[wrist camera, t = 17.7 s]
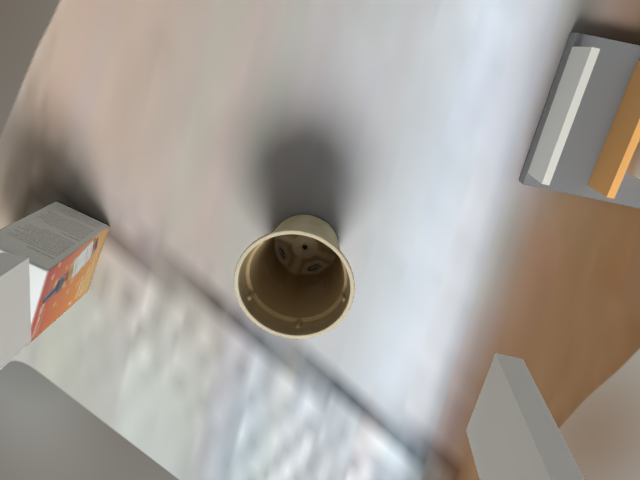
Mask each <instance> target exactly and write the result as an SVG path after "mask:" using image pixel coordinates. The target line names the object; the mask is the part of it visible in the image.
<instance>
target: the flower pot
mask: <svg viewBox="0 0 640 480" xmlns="http://www.w3.org/2000/svg"><path fill="white" fill-rule="evenodd" d="M303 245H306V246H307V249H303ZM280 248H282V251H283V252H285V253H284V255H285V258H282V256H281V254H280V251H279V249H280ZM317 264H319V265H320V266H321V267H320V268H319V269H316V270H308V267H310V266H314V265H317ZM234 290H235V294H236V297H237V300H238V302H239V304H240V306H241V308H242V309H243V311H244V312H245V314H246V315H247V316H248V317H249V318H250V319H251V320H252V321H253V322H254V323H255V324H257V325H258V326H259V327H261V328H262V329H264V330H266V331H268V332H270V333H272V334H274V335H277V336H281V337H286V338H292V339H303V338H311V337H315V336H318V335H321V334H323V333H325V332H327V331H329V330H331V329H332V328H334V327H335V326H336V325H337V324H338V323H339V322H341V321H342V320H343V319H344V317H345V316H346V315H347V313H348V311H349V309H350V307H351V305H352V302H353V298H354V292H355V285H354V277H353V273H352V270H351V267H350V265H349V263H348V261H347V259H346V258H345V256H344V255H343V254H342V252H341V251H340V249H339V243H338V239H337V236H336V234H335V232H334V230H333V229H332V228H331V226H330V225H329V224H328V223H327V222H325V221H323V220H321V219H319V218H317V217H315V216H312V215H306V214H304V215H295V216H292V217H290V218H288V219H286V220H284V221H283V222H282V223H281V224H280V225H279V226H278V227H277V228H276V229H275V230H274V231H273V232H272V233H269V234H266V235H264V236H262V237H261V238H259V239H257V240H256V241H255V242H253V243H252V244H251V245H250V246H249V247H248V248H247V249H246V250H245V251H244V253H243V254H242V255H241V257H240V259H239V261H238V263H237V266H236V269H235V274H234Z"/></svg>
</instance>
